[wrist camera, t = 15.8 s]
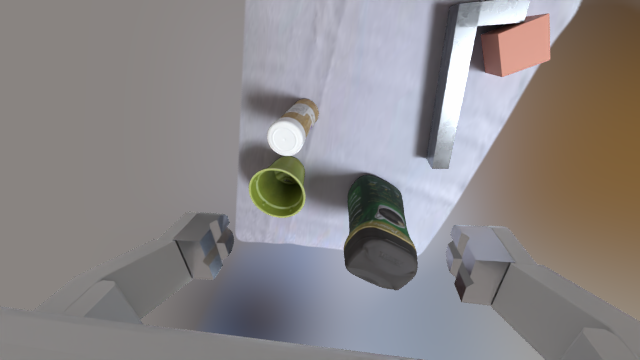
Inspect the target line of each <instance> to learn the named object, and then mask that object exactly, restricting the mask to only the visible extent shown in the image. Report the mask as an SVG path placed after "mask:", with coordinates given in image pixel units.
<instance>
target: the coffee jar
mask: <svg viewBox="0 0 640 360" xmlns="http://www.w3.org/2000/svg"><path fill="white" fill-rule="evenodd" d="M348 212H349V228H350V231H349V236H348V238H347V239H346V242H345V245H344V258H345V266H346V268H347V270H348V271H349V272H350V273H352V274H353V275H355V276H357V277H359V278H361V279H363V280H366V281H368V282H370V283H373V284H375V285H377V286H379V287H382V288H387V289H394V290H399V289H400V288H402V287H403V286H404V285H406V284H407V283H408V282H409V281H410V280H411V279H413V277H414V276H415V275H416V272H417V264H418V263H417V253H416V249H415V246H414V244H413V242H412V241H411V239H410V237H409V234H408V231H407V227H406V221H405V216H404V207H403V200H402V195H401V193H400V191H399V190H398V189H397V188H396V187H394V186H393V185H391V184H390V183H388V182H386V181H384V180H382V179H380V178H377V177H375V176H372V175H365V176H362V177H360V178H359V179H357V180H356V182H355V183H354V184H353V185H352V187H351V188H350V190H349V192H348Z"/></svg>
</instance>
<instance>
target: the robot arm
mask: <svg viewBox="0 0 640 360" xmlns="http://www.w3.org/2000/svg"><path fill="white" fill-rule="evenodd" d="M229 223H230V222H229V219H228V216H226V215H225V214H216V213H202V212H201V213H199V212H187V213H185V214H184V215H183V216H182V217H180V219H179V220H178V221H176V222H175V223H174V224H173V225H172V226H171V227H170V228H169V229H168V230H167V231H166V232H165V233H164V234H163V235H162V236H161V237H160V238H159V239H158V240H157V239H154V240H151V241H149V242H147V243H145V244H143V245H141V246H139V247H136V248H134V249H132V250H130V251H128V252H126V253H124V254H121V255H119V256H117V257H115V258H113V259H111V260H109V261H107V262H104V263H102V264H100V265H98V266H96V267H94V268H92V269H90V270H87V271H85V272H83V273H81V274H79V275H77V276H75V277H74V278H72V279H71V280H70V281H69V282H68V283H66V284H65V285H64V286H63V287H61V288H60V289H59V290H58V291H57V292H55V293H54V294H53V295H52V296H50V298H48V299H47V300H46V301H44V302H43V303H42V304H41V305H40V306H38V307H37V308H36V309H35V310H33V311H32V310H23V309H16V308H9V307H1V306H0V360H423V359H415V358H406V357H399V356H390V355H382V354H375V353H367V352H358V351H350V350H342V349H334V348H326V347H318V346H311V345H303V344H295V343H286V342H278V341H271V340H263V339H255V338H247V337H239V336H230V335H223V334H215V333H207V332H199V331H191V330H183V329H175V328H167V327H159V326H151V325H144V324H143V323H142V322H141V320H140V319H141V318H143V317H144V316H146V315H147V314H148V313H149V312H151V311H152V310H153V309H155V308H156V307H157V306H159V305H160V304H161V303H162V302H164V301H165V300H166V299H167V298H169V297H170V296H171V295H173V294H174V293H175V292H177V291H178V290H179V289H180V288H182V287H183V286H184V285H186V284H187V283H188V282H190V281H191V280H192V278H194V279H211V280H214V279H215V277H216V276H217V274H218V272H219V271H220V269H221V267H222V266H223V264H222V260H223V259H225V258H226V257H228V256H229V254H230V253H231V251H232V248H233V244H234V236H233V233H232V231H231V230H230V229H229V228H228V225H229ZM451 236H452V239H453V241H452V242H450V243H449V244H448V246H447V251H446V260H447V265H448V268H449V271H450V273H451V274H452V275H454V276H455V277H456V280H455V283H454V284H455V287H456V290H457V292H458V294H459V297H460V300H461V302H464V303H473V304H482V305H490V306H492V308H493V309H494V310H495V311H496V312H497V313H498V314H499V315H500V316H501V317H502V318H503V319H504V320H505V321H506V322H507V323H508V324H509V325H510V326H511V327H512V328H513V329H514V330H515V331H516V332H517V333H518V334H519V335H520V336H521V337H522V338H524V339H525V340H526V341H527V342H528V343H529V344H530V345H531V346H532V347H533V348H534V349H535V350H536V351H537V352H538V353H539V354H540V355H541V356H542V357H543V358H544V359H545V360H640V321H638V320H637V319H635V318H633V317H632V316H630V315H628V314H626V313H624V312H623V311H621V310H619V309H618V308H616V307H614V306H613V305H611V304H609V303H607V302H606V301H604V300H602V299H601V298H599V297H597V296H595V295H594V294H592V293H590V292H589V291H587V290H585V289H583V288H582V287H580V286H578V285H576V284H575V283H573V282H571V281H570V280H568V279H566V278H564V277H562V276H561V275H559V274H558V273H556V272H554V271H552V270H551V269H549V268H547V267H545V266H544V265H537V264H536V262H535V261H534V260H533V259H532V257H531V256H530V255H529V254H528V252H527V251H526V250H525V248H524V247H523V246H522V245H521V244H520V242H519V241H518V240H517V239H516V237H515V236H514V235H513V233H512V232H511V231H510V229H509V228H507V227H505V226H466V225H465V226H464V225H454V226H453V228H452V231H451Z"/></svg>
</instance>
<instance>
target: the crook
mask: <svg viewBox="0 0 640 360" xmlns="http://www.w3.org/2000/svg"><path fill="white" fill-rule="evenodd" d="M529 3H530V0H492V1H481V2H471V3H460V4H457V5H454V6H451V7H449V13H448V20H447V26H446V33H445V39H444V46H443V52H442V59H441V66H440V72H439V79H438V85H437V92H436V99H435V105H434V112H433V118H432V125H431V131H430V138H429V145H428V151H427V158H426V159H427V160H428V162H429V164H430V166H431V168H432V169H448V168H449V163H450V158H451V153H452V148H453V144H454V139H455V134H456V129H457V124H458V119H459V114H460V109H461V104H462V99H463V94H464V89H465V84H466V79H467V75H468V70H469V65H470V60H471V55H472V50H473V45H474V40H475V35H476V30H477V26H489V25H501V24H512V23H522V22H524V21H525V17H526V14H527V10H528V7H529Z"/></svg>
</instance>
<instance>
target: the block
mask: <svg viewBox="0 0 640 360" xmlns="http://www.w3.org/2000/svg"><path fill="white" fill-rule="evenodd" d="M481 42H482V50H483V58H484V66H485V73H489V74H493V75H497V76H500V77H504V76H506V75H509V74H512V73H515V72H518V71H520V70H523V69H526V68H529V67H532V66H534V65H537V64H540V63H543V62H546V61H548V60H550V23H549V14H542V15H535V16H528V17H525V21H524V22H522V23H512V24H506V25H504V26H501V27H499V28H496V29H494V30H491V31H489V32H487V33H484V34H482V35H481Z"/></svg>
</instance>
